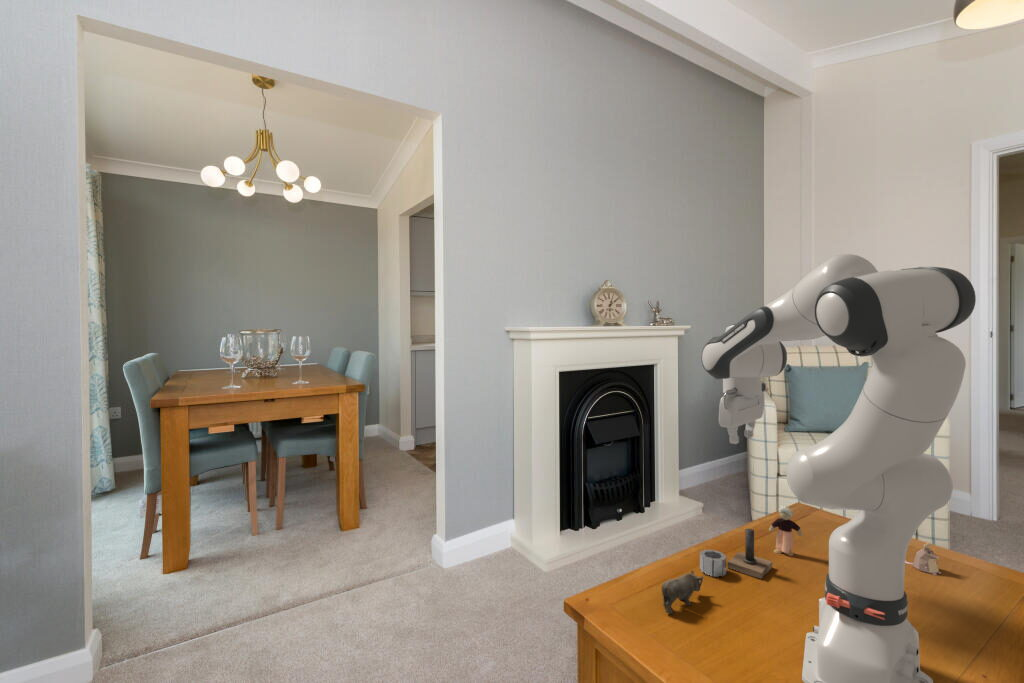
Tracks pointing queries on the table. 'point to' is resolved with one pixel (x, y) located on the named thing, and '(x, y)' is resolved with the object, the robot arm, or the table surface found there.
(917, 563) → the mouse figurine
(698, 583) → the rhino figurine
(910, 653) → the robot arm
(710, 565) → the steel ring
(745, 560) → the post block
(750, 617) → the table surface
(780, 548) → the grandmother figurine
